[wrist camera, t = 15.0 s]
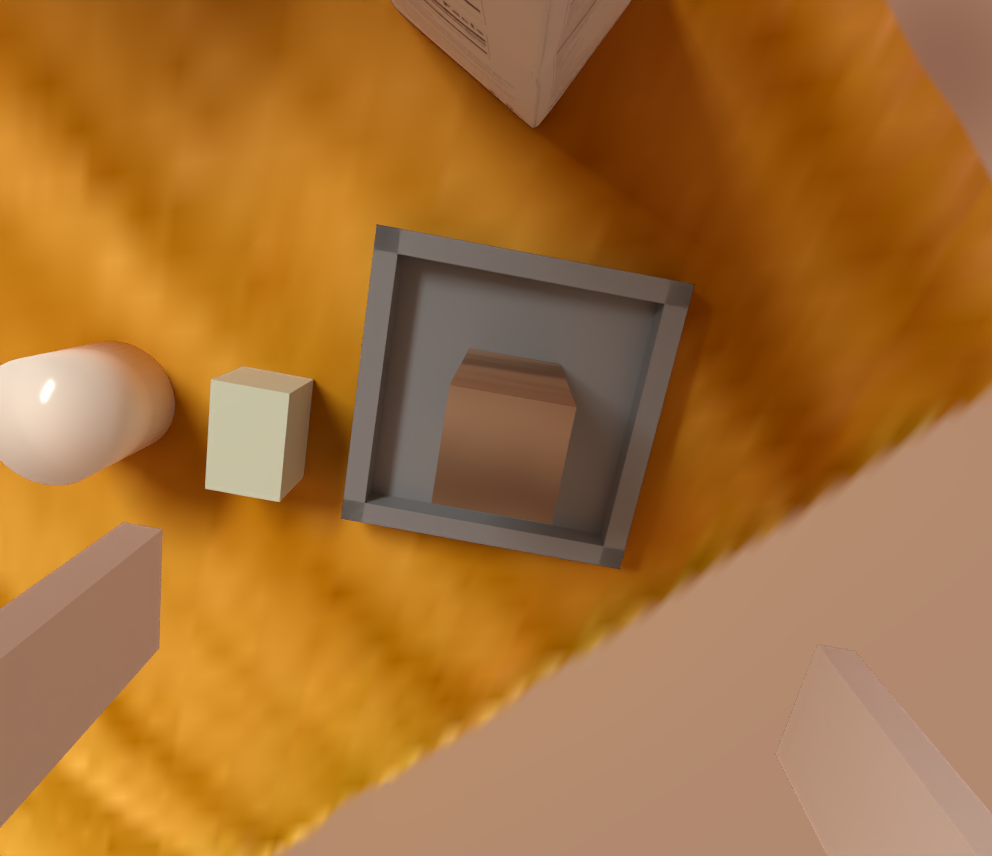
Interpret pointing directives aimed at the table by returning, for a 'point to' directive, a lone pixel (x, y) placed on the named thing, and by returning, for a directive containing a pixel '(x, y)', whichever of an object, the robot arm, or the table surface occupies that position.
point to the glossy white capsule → (81, 410)
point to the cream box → (257, 432)
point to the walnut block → (504, 436)
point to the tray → (518, 332)
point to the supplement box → (517, 43)
